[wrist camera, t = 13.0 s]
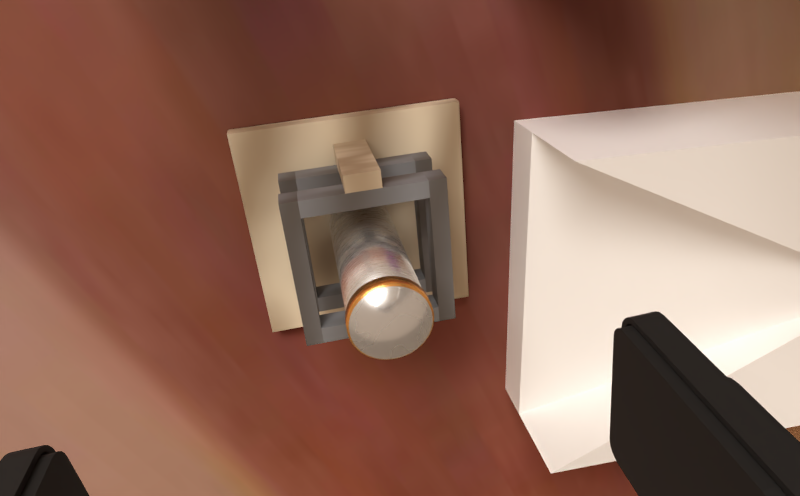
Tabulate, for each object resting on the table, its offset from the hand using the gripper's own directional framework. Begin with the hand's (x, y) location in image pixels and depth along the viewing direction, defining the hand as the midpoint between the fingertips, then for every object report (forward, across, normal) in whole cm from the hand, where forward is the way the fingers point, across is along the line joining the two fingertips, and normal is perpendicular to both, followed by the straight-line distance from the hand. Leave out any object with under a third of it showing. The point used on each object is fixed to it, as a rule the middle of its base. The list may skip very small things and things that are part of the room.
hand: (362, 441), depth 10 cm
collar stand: (+28, -1, +9) cm, 30 cm away
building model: (+30, -34, +17) cm, 48 cm away
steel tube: (+28, -1, +9) cm, 29 cm away
